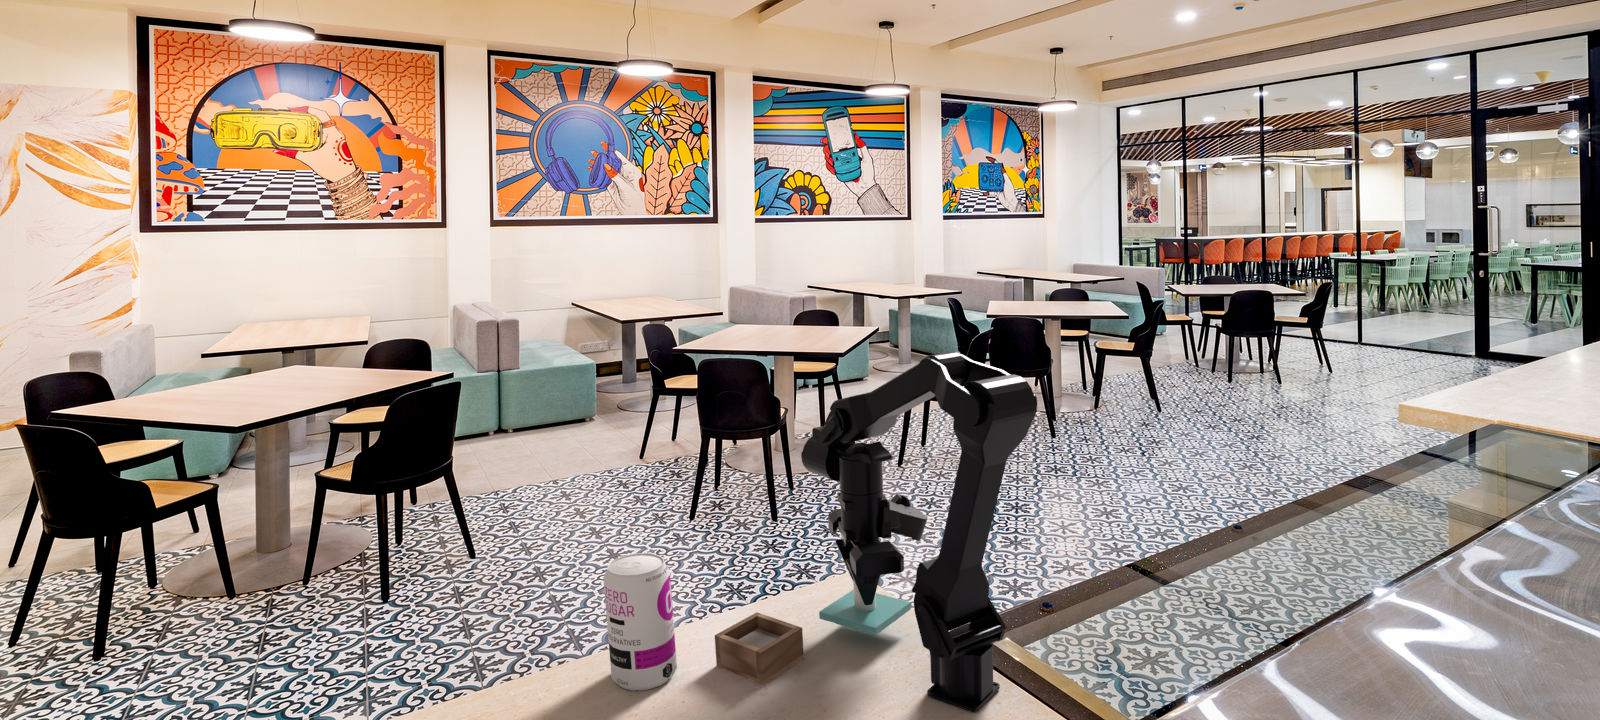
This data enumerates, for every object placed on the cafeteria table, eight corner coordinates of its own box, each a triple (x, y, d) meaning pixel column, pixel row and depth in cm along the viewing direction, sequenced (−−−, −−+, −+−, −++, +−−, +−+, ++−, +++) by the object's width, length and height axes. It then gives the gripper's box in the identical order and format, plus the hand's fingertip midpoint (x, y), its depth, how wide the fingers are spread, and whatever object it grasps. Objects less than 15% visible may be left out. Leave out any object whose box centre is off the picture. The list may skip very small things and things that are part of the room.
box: (803, 660, 112) (802, 627, 111) (762, 686, 106) (760, 652, 105) (758, 643, 117) (756, 612, 116) (716, 667, 111) (714, 635, 110)
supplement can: (683, 659, 113) (675, 551, 111) (667, 693, 105) (659, 577, 102) (623, 659, 114) (614, 551, 111) (603, 693, 106) (593, 577, 103)
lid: (911, 615, 118) (909, 574, 117) (876, 642, 111) (874, 598, 110) (856, 601, 124) (854, 561, 123) (819, 625, 117) (818, 583, 116)
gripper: (942, 504, 107) (944, 622, 109) (900, 465, 125) (903, 567, 127) (854, 513, 105) (859, 633, 107) (825, 472, 123) (829, 575, 126)
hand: (865, 599), depth 117 cm, fingers closed on lid, 3 cm apart
